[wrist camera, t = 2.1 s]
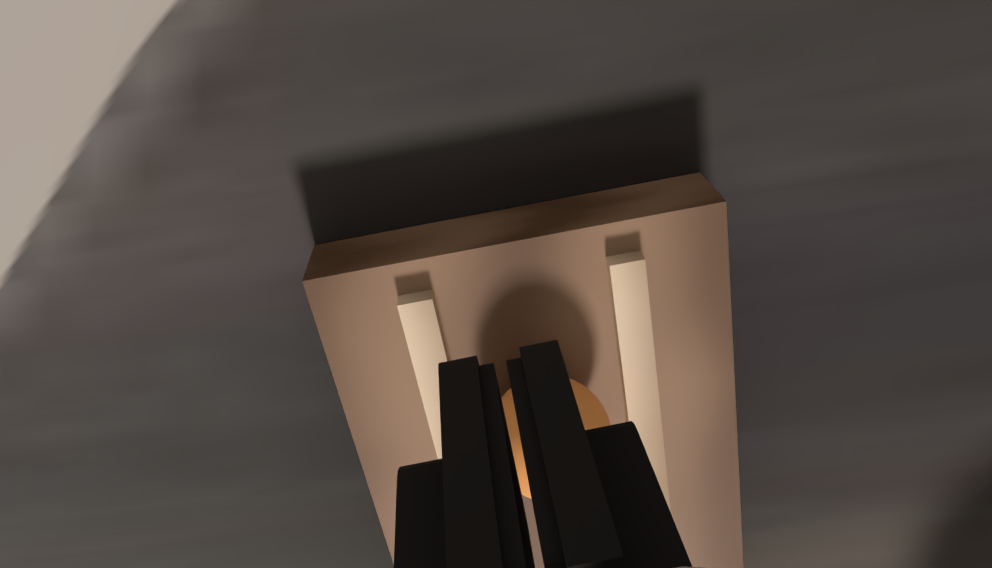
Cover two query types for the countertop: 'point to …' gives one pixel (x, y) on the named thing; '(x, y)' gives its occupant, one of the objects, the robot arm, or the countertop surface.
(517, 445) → the ball
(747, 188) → the countertop surface
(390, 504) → the runway
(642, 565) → the robot arm
